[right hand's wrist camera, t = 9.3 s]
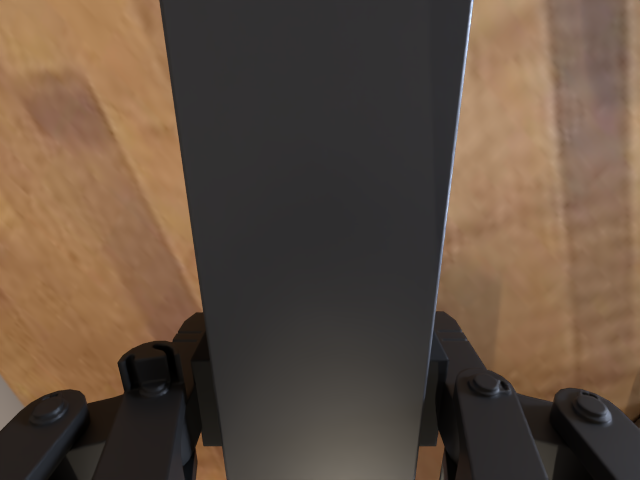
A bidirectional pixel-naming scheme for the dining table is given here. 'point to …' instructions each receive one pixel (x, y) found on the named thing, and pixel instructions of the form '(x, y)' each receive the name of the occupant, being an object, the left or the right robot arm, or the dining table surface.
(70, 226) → the dining table surface
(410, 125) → the beam
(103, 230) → the dining table surface
